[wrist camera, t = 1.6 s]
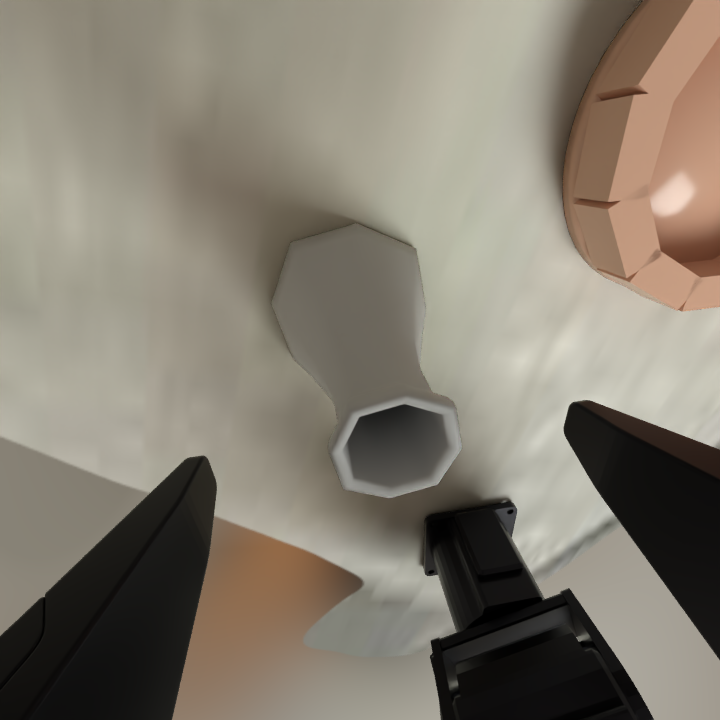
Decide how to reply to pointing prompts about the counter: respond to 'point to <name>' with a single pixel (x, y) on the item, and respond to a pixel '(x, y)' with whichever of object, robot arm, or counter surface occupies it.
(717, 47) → the dish
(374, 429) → the flask
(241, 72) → the counter surface
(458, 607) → the robot arm
